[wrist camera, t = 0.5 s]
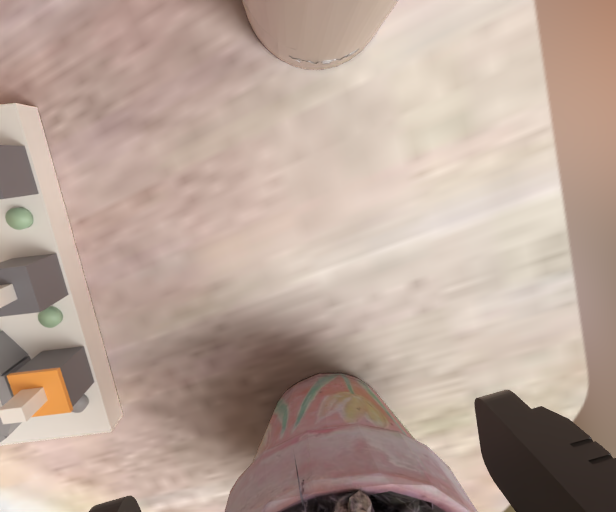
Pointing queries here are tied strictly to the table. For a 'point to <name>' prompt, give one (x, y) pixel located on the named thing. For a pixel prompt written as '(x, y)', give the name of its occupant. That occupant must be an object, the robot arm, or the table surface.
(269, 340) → the table surface
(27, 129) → the breaker board
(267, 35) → the robot arm
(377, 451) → the potted plant
